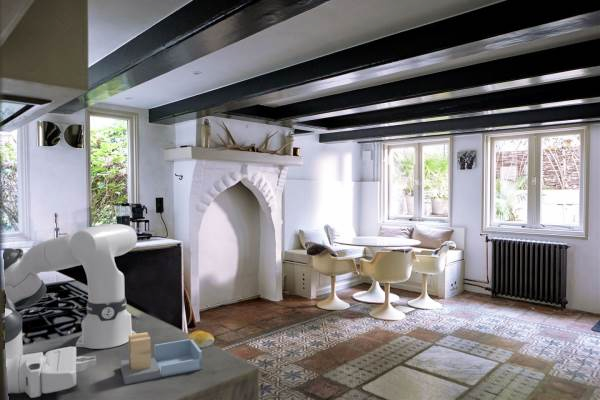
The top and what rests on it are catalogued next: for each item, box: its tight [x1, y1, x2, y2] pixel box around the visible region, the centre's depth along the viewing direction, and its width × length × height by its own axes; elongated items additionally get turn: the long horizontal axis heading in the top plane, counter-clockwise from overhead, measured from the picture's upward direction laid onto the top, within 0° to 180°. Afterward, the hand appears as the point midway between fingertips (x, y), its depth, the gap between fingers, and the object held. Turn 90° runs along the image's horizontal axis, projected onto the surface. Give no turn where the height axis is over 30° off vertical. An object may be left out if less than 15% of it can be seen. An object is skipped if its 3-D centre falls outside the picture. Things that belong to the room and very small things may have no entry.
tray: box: [153, 338, 203, 378], centre depth 124 cm, size 12×11×5 cm
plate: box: [120, 354, 162, 385], centre depth 119 cm, size 12×9×2 cm
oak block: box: [128, 331, 152, 371], centre depth 119 cm, size 6×5×8 cm
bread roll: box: [186, 330, 215, 349], centre depth 141 cm, size 8×9×4 cm
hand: (96, 360), depth 114 cm, fingers closed
